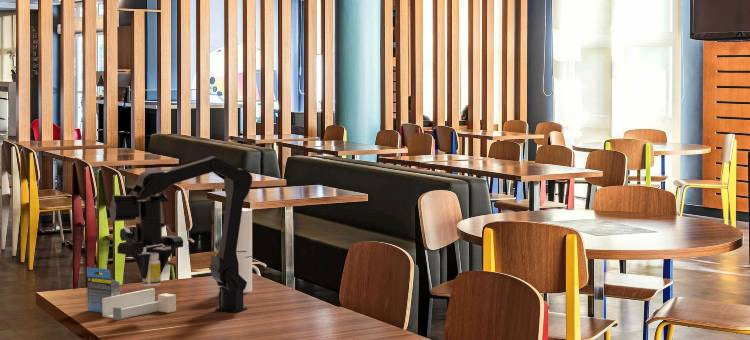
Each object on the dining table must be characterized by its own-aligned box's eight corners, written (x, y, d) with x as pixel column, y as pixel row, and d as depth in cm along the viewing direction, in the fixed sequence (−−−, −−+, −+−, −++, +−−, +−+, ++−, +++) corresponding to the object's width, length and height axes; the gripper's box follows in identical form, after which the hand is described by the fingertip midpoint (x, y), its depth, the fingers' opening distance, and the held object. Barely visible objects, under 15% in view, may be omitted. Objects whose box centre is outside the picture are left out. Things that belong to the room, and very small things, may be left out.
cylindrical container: (225, 289, 324) (225, 208, 322) (247, 288, 327) (247, 207, 325) (232, 293, 318) (232, 211, 316) (255, 292, 321) (255, 210, 319)
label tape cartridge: (120, 312, 291) (120, 267, 290) (111, 314, 288) (110, 269, 287) (96, 308, 295) (96, 264, 294) (86, 311, 292) (85, 266, 291)
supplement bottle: (163, 283, 285) (162, 252, 284) (157, 286, 280) (157, 255, 279) (145, 282, 285) (145, 252, 284) (140, 286, 280) (139, 254, 280)
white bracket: (180, 310, 294) (180, 292, 294) (127, 322, 278) (126, 303, 278) (154, 305, 300) (154, 287, 300) (100, 316, 284) (100, 298, 284)
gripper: (155, 213, 293) (156, 269, 295) (102, 220, 278) (103, 279, 279) (184, 216, 287) (185, 273, 288) (131, 223, 272) (132, 283, 273)
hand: (151, 277), depth 282 cm, fingers closed on supplement bottle, 5 cm apart
